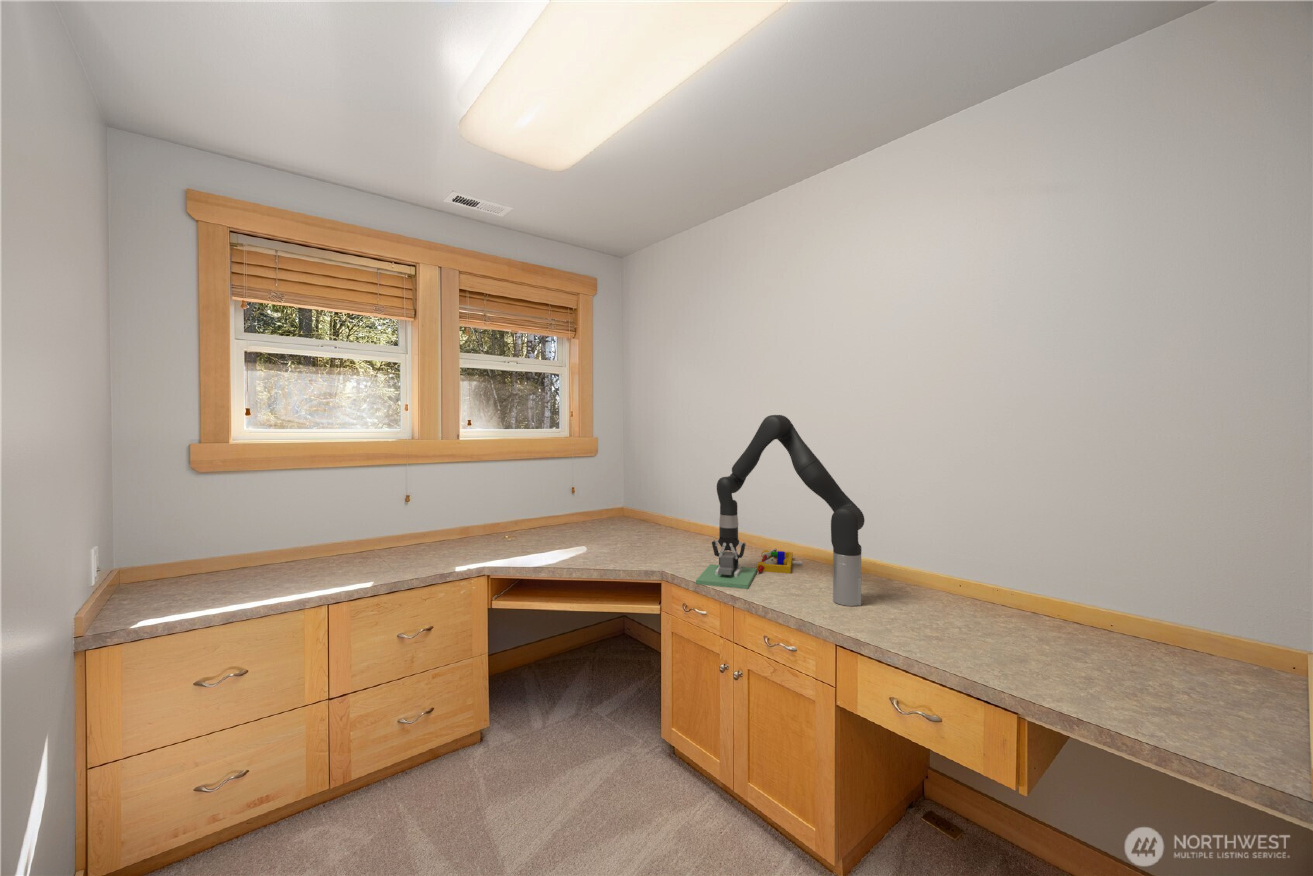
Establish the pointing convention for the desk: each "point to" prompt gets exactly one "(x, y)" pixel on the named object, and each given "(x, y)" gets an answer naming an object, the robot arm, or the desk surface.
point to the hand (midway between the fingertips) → (728, 566)
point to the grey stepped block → (726, 563)
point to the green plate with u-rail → (727, 577)
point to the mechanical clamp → (782, 561)
